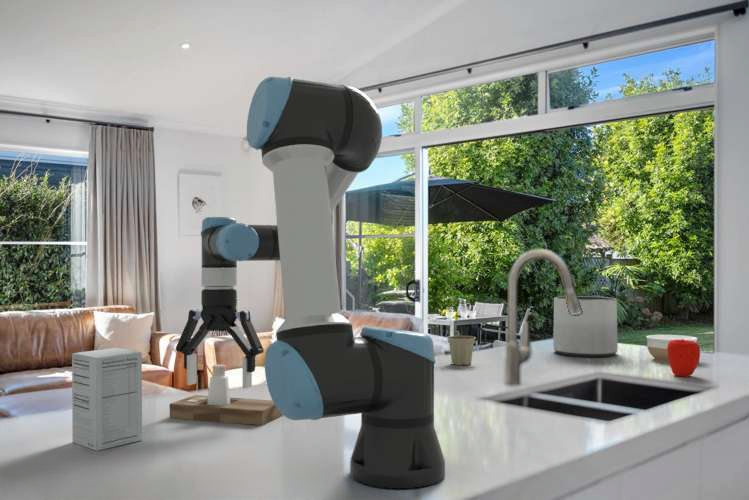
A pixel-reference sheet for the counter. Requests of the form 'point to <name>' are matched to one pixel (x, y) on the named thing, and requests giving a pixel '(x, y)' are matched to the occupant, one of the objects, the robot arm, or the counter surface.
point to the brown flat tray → (225, 410)
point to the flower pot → (461, 349)
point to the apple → (683, 357)
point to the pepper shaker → (218, 387)
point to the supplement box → (106, 398)
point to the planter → (586, 327)
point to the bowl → (663, 345)
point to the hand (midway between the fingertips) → (219, 385)
